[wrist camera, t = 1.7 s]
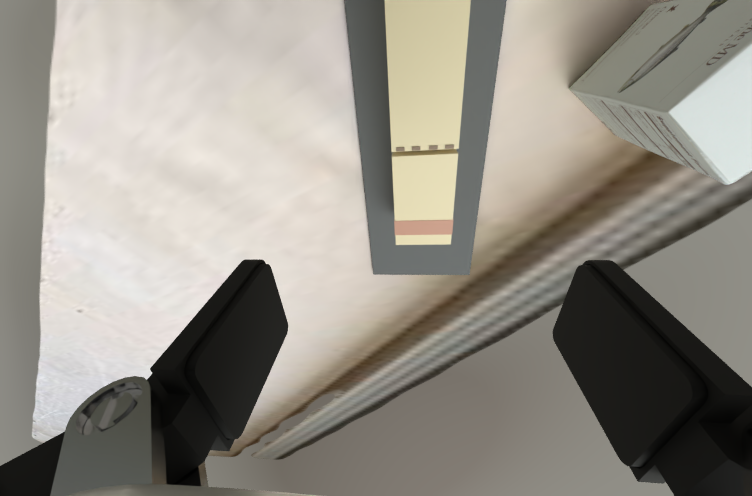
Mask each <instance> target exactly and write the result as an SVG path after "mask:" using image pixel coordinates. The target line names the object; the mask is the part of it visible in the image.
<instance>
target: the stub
mask: <svg viewBox="0 0 752 496" xmlns="http://www.w3.org/2000/svg"><path fill="white" fill-rule="evenodd" d="M457 163H458V152H457V150H456V149H442V150H422V151H403V152H393V153H392V173H393V194H394V216H395V218H394V228H395V237H396V245H447V244H451V236H452V231H453V211H454V199H455V187H456V175H457Z"/></svg>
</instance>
